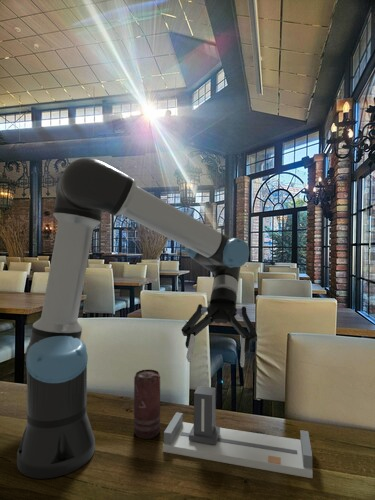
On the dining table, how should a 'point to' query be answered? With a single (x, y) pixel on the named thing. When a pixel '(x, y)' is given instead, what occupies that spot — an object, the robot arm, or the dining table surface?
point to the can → (147, 404)
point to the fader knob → (204, 416)
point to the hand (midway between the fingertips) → (214, 362)
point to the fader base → (243, 448)
